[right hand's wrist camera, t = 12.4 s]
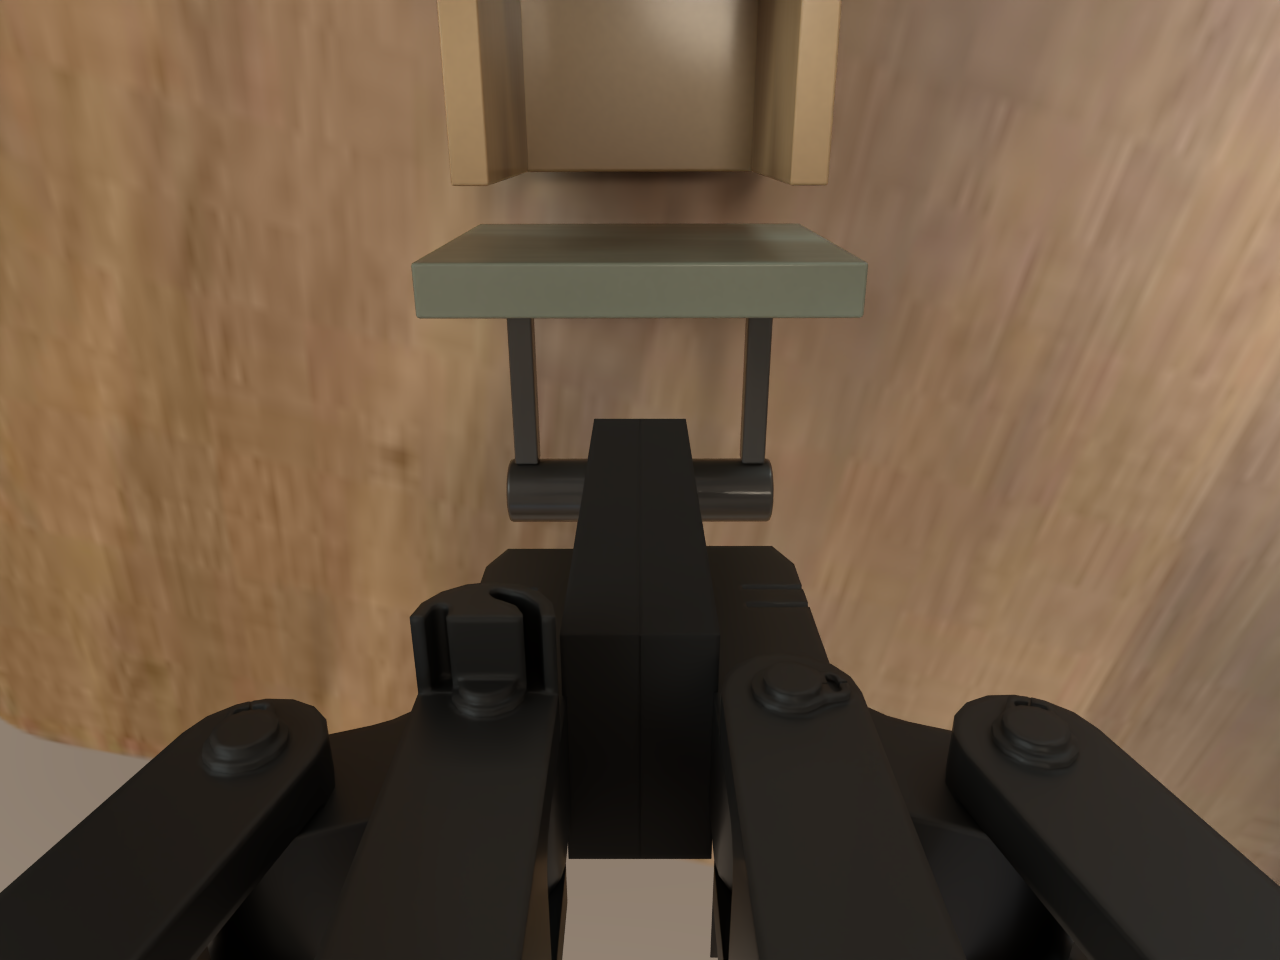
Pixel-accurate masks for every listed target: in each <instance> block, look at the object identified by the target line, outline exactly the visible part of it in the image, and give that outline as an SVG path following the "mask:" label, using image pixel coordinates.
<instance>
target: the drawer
mask: <svg viewBox="0 0 1280 960" xmlns="http://www.w3.org/2000/svg"><path fill="white" fill-rule="evenodd" d="M841 5H842V0H437V10H438V23H439V35H440V48H441V61H442V73H443V86H444V99H445V112H446V124H447V137H448V150H449V162H450V175H451V184H452V185H453V186H488V185H491V184H494V183H497V182H499V181H502V180H505V179H508V178H511V177H514V176H517V175H519V174H522V173H525V172H745V171H753V172H755V173H758V174H761V175H764V176H767V177H770V178H773V179H776V180H778V181H781V182H784V183H787V184H790V185H827V183H828V176H829V163H830V149H831V136H832V123H833V110H834V97H835V84H836V70H837V57H838V44H839V31H840V18H841ZM411 268H412V278H413V288H414V298H415V308H416V316H417V317H418V318H507V330H508V346H509V363H510V380H511V397H512V414H513V431H514V448H515V459H513V460H511V461H510V464H509V467H508V473H507V507H508V514H509V517H510V519H511V521H513V522H578V518H579V511H580V505H581V499H582V493H583V486H584V480H585V474H586V468H587V461H588V459H540V437H539V416H538V395H537V374H536V353H535V332H534V318H746V327H745V349H744V372H743V394H742V417H741V439H740V457H741V459H692V461H693V468H694V474H695V480H696V486H697V493H698V499H699V505H700V511H701V518H702V522H716V521H768V520H770V517H771V514H772V509H773V493H774V488H773V472H772V466H771V463H770V461H769V460H768V459H765V446H766V428H767V410H768V393H769V375H770V357H771V339H772V321H773V318H861V317H862V316H863V313H864V303H865V293H866V282H867V272H868V263H867V262H865V261H863V260H862V259H860V258H858V257H856V256H855V255H853V254H851V253H849V252H848V251H846V250H844V249H842V248H841V247H839V246H837V245H835V244H834V243H832V242H830V241H828V240H827V239H825V238H823V237H821V236H820V235H818V234H816V233H814V232H813V231H811V230H809V229H808V228H806V227H804V226H802V225H801V224H480V225H478V226H476V227H475V228H473V229H471V230H469V231H468V232H466V233H464V234H462V235H461V236H459V237H457V238H456V239H454V240H452V241H450V242H449V243H447V244H445V245H443V246H442V247H440V248H438V249H436V250H435V251H433V252H431V253H429V254H428V255H426V256H424V257H422V258H421V259H419V260H417V261H416V262H414V263H412V266H411Z"/></svg>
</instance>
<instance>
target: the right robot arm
mask: <svg viewBox="0 0 1280 960" xmlns="http://www.w3.org/2000/svg"><path fill="white" fill-rule="evenodd" d="M801 586H802V585H801V582H800V580H799V577H798V574H797V571H796V568H795V566H794V564H793V563H792V562H791V561H790V560H788V559H787V558H786V557H785V556H783V555H782V554H781V553H780V552H779V551H777V550H776V549H775V548H774V547H772V546H706V543H705V536H704V530H703V524H702V518H701V511H700V505H699V499H698V493H697V486H696V480H695V474H694V468H693V461H692V455H691V449H690V443H689V436H688V430H687V424H686V419H594V424H593V430H592V436H591V443H590V449H589V455H588V461H587V468H586V474H585V480H584V486H583V493H582V499H581V505H580V511H579V518H578V524H577V530H576V536H575V543H574V549H507V550H506V551H505V552H504V553H503V554H501V555H500V556H499V557H498V558H497V559H495V560H494V561H493V562H492V563H491V564H489V565H488V566H487V567H486V569H485V572H484V575H483V577H482V580H481V583H477V584H467V585H463V586H460V587H457V588H453V589H450V590H446V591H443V592H441V593H439V594H437V595H435V596H433V597H432V598H430V599H428V600H426V601H425V602H423V603H421V604H420V606H419V607H418V608H417V609H416V610H415V612H414V613H413V614H412V615H411V616H410V625H411V633H412V642H413V651H414V659H415V668H416V677H417V686H418V695H417V698H416V701H415V703H414V706H413V708H412V711H411V712H409V713H407V714H404V715H402V716H400V717H398V718H395V719H393V720H390V721H386V722H382V723H379V724H375V725H372V726H367V727H362V728H358V729H353V730H348V731H343V732H339V733H334V734H328V728H327V722H326V719H325V718H324V717H323V716H322V714H321V713H320V712H319V711H318V710H317V709H316V708H315V707H314V706H311V705H308V704H305V703H302V702H299V701H296V700H293V699H262V700H256V701H252V702H245V703H241V704H237V705H234V706H231V707H229V708H227V709H224V710H222V711H219V712H217V713H214V714H212V715H209V716H207V717H205V718H204V719H202V720H201V721H199V722H198V723H196V724H195V725H194V726H192V727H191V728H189V729H188V730H186V731H185V732H183V733H182V734H181V735H180V736H178V737H177V738H176V739H175V740H174V741H173V742H172V743H170V744H169V745H168V746H167V747H166V748H165V749H164V750H162V751H161V752H160V753H159V754H158V755H157V756H156V757H155V758H153V759H152V760H151V761H150V762H149V763H148V764H147V765H145V766H144V767H143V768H142V769H141V770H140V771H139V772H137V773H136V774H135V775H134V776H133V777H132V778H131V779H129V780H128V781H127V782H126V783H125V784H124V785H123V786H122V787H120V788H119V789H118V790H117V791H116V792H115V793H114V794H112V795H111V796H110V797H109V798H108V799H107V800H106V801H104V802H103V803H102V804H101V805H100V806H99V807H98V808H96V809H95V810H94V811H93V812H92V813H91V814H90V815H89V816H87V817H86V818H85V819H84V820H83V821H82V822H80V823H79V824H78V825H77V826H76V827H75V828H74V829H73V830H71V831H70V832H69V833H68V834H67V835H66V836H65V837H63V838H62V839H61V840H60V841H59V842H58V843H57V844H55V845H54V846H53V847H52V848H51V849H50V850H49V851H47V852H46V853H45V854H44V855H43V856H42V857H41V858H40V859H38V860H37V861H36V862H35V863H34V864H33V865H32V866H30V867H29V868H28V869H27V870H26V871H25V872H24V873H22V874H21V875H20V876H19V877H18V878H17V879H16V880H15V881H13V882H12V883H11V884H10V885H9V886H8V887H7V888H5V889H4V890H3V891H2V892H1V893H0V960H562V955H563V944H564V933H565V922H566V911H567V882H566V856H567V846H568V854H569V859H711V854H712V841H713V851H714V883H713V906H712V930H711V954H710V957H718V960H1280V886H1278V885H1277V884H1276V883H1275V882H1274V881H1273V880H1271V879H1270V878H1269V877H1268V876H1267V875H1266V874H1265V873H1263V872H1262V871H1261V870H1260V869H1259V868H1258V867H1257V866H1255V865H1254V864H1253V863H1252V862H1251V861H1250V860H1249V859H1247V858H1246V857H1245V856H1244V855H1243V854H1242V853H1240V852H1239V851H1238V850H1237V849H1236V848H1235V847H1234V846H1232V845H1231V844H1230V843H1229V842H1228V841H1227V840H1226V839H1224V838H1223V837H1222V836H1221V835H1220V834H1219V833H1218V832H1216V831H1215V830H1214V829H1213V828H1212V827H1211V826H1209V825H1208V824H1207V823H1206V822H1205V821H1204V820H1203V819H1201V818H1200V817H1199V816H1198V815H1197V814H1196V813H1195V812H1193V811H1192V810H1191V809H1190V808H1189V807H1188V806H1187V805H1185V804H1184V803H1183V802H1182V801H1181V800H1180V799H1178V798H1177V797H1176V796H1175V795H1174V794H1173V793H1172V792H1170V791H1169V790H1168V789H1167V788H1166V787H1165V786H1164V785H1162V784H1161V783H1160V782H1159V781H1158V780H1157V779H1156V778H1154V777H1153V776H1152V775H1151V774H1150V773H1149V772H1147V771H1146V770H1145V769H1144V768H1143V767H1142V766H1141V765H1139V764H1138V763H1137V762H1136V761H1135V760H1134V759H1133V758H1131V757H1130V756H1129V755H1128V754H1127V753H1126V752H1125V751H1123V750H1122V749H1121V748H1120V747H1119V746H1118V745H1116V744H1115V743H1114V742H1113V741H1112V740H1111V739H1110V738H1108V737H1107V736H1106V735H1105V734H1104V733H1103V732H1102V731H1100V730H1099V729H1098V728H1096V727H1095V726H1093V725H1092V724H1090V723H1089V722H1088V721H1086V720H1085V719H1083V718H1082V717H1080V716H1079V715H1077V714H1076V713H1074V712H1072V711H1069V710H1067V709H1064V708H1062V707H1059V706H1057V705H1054V704H1052V703H1049V702H1047V701H1044V700H1040V699H1036V698H1032V697H1031V698H1028V697H1025V696H1018V695H988V696H985V697H982V698H979V699H976V700H973V701H970V702H967V703H966V704H965V705H964V706H963V707H962V708H961V709H960V710H959V711H958V712H957V713H956V714H955V716H954V722H953V728H952V731H950V730H945V729H940V728H936V727H931V726H926V725H921V724H917V723H912V722H907V721H904V720H900V719H897V718H893V717H890V716H886V715H884V714H882V713H880V712H877V711H875V710H873V709H871V708H868V707H867V704H866V702H865V699H864V697H863V694H862V692H861V691H860V689H859V688H858V686H857V685H856V684H855V682H854V681H853V680H852V678H851V677H850V676H849V675H847V674H846V673H844V672H843V671H841V670H840V669H838V668H837V667H835V666H833V665H832V664H830V663H829V661H828V658H827V655H826V652H825V649H824V647H823V644H822V641H821V638H820V635H819V633H818V630H817V627H816V624H815V621H814V619H813V616H812V613H811V610H810V607H808V602H807V599H806V596H805V593H804V591H803V589H802V588H801Z"/></svg>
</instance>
